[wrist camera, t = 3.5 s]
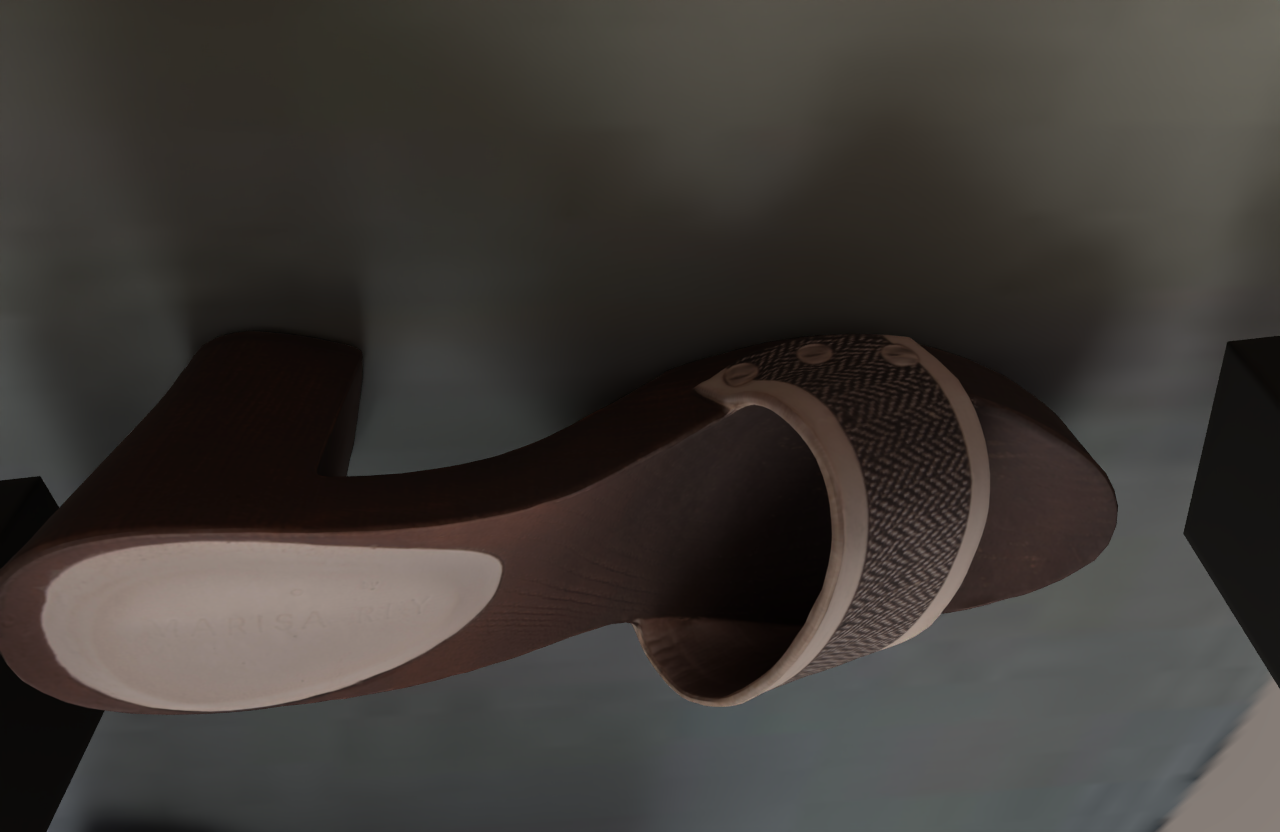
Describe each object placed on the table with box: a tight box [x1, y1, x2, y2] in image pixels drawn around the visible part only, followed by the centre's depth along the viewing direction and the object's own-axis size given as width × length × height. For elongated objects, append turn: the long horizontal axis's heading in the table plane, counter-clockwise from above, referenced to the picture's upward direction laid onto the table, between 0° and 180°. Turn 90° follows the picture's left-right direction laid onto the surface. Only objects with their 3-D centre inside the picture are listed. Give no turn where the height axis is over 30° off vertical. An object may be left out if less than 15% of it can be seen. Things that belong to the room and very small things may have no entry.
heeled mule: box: [0, 331, 1118, 715], centre depth 11 cm, size 4×11×4 cm, turn 82°
